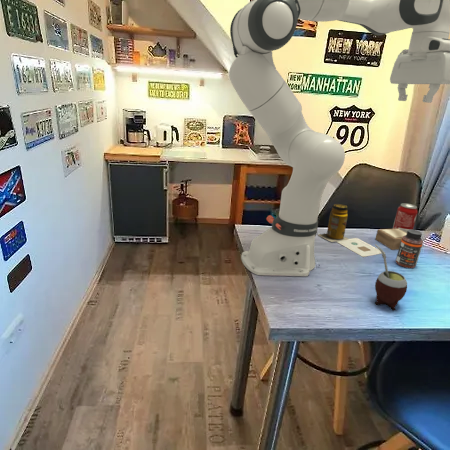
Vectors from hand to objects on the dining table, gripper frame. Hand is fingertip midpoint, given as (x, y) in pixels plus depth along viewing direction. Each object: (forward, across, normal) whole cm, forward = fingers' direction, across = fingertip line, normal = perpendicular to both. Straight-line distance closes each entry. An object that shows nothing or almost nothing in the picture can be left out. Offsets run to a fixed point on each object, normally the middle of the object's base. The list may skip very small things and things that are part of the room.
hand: (413, 101), depth 98 cm
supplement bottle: (+48, +7, +5) cm, 49 cm away
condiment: (+48, -16, -7) cm, 51 cm away
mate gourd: (+48, +25, -17) cm, 57 cm away
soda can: (+48, -15, +22) cm, 55 cm away
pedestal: (+48, -8, +13) cm, 50 cm away
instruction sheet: (+48, -7, -2) cm, 49 cm away
